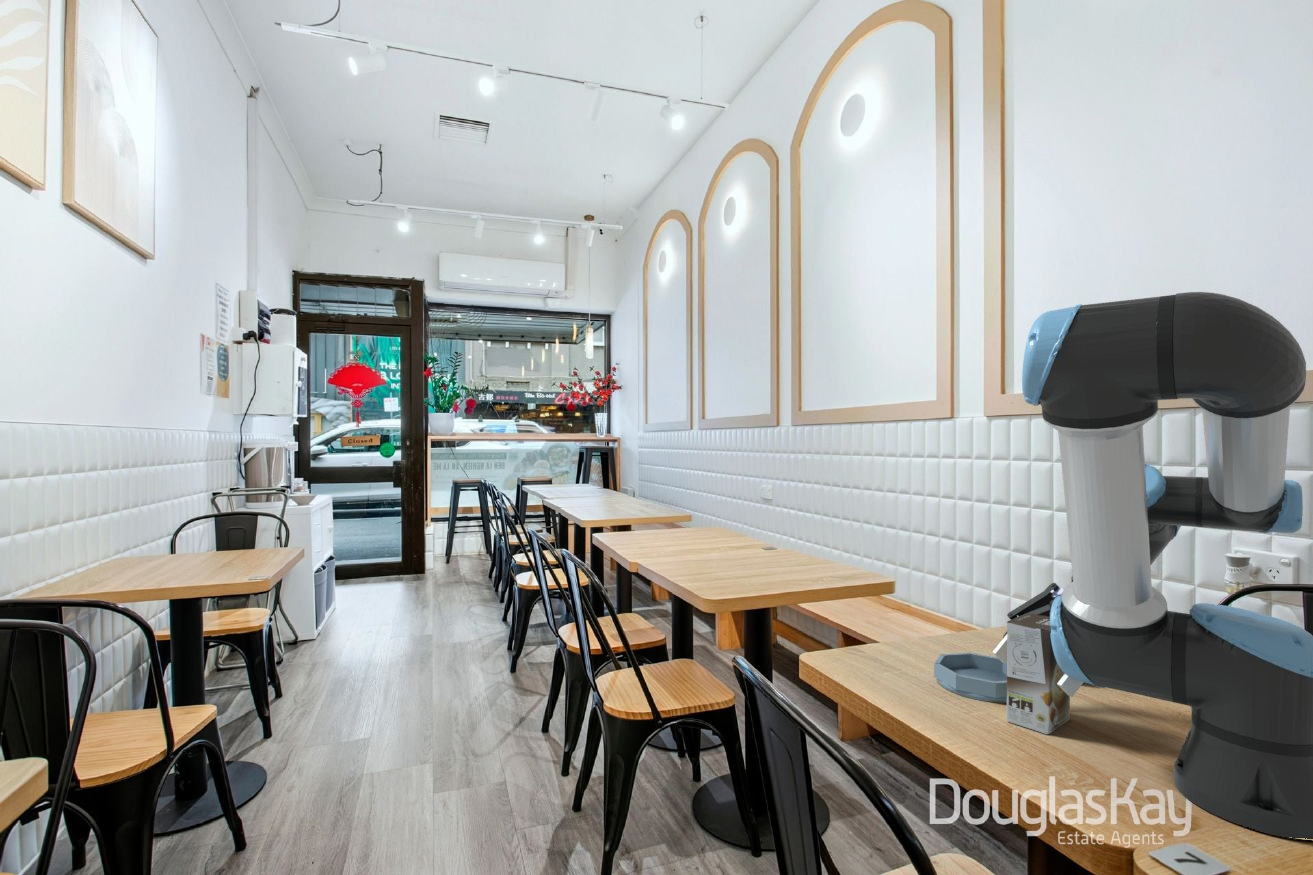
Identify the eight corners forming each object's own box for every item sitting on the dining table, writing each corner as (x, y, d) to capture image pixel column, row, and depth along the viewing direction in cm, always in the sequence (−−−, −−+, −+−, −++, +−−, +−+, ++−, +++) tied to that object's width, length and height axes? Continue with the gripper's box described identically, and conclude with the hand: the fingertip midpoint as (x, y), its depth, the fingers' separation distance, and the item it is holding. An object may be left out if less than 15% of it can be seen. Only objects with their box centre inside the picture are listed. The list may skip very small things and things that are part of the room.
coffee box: (1050, 736, 95) (1050, 630, 95) (1005, 721, 100) (1005, 621, 100) (1071, 719, 101) (1071, 620, 101) (1027, 706, 106) (1027, 611, 106)
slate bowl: (1049, 699, 109) (1049, 679, 109) (972, 705, 106) (972, 684, 106) (988, 669, 123) (988, 651, 123) (920, 673, 121) (920, 655, 121)
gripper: (1199, 611, 92) (1113, 723, 89) (1059, 573, 116) (989, 660, 114) (1168, 577, 91) (1081, 689, 88) (1034, 546, 115) (962, 633, 113)
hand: (1029, 673), depth 101 cm, fingers open, 13 cm apart
